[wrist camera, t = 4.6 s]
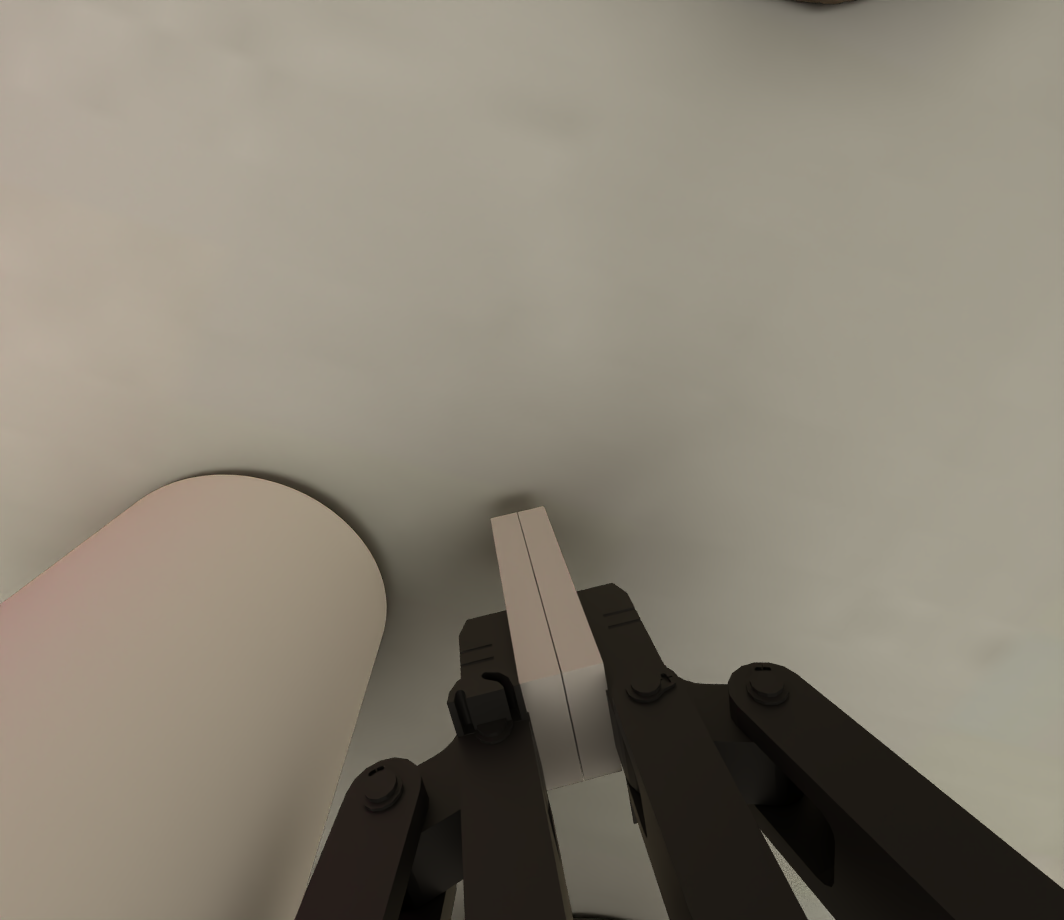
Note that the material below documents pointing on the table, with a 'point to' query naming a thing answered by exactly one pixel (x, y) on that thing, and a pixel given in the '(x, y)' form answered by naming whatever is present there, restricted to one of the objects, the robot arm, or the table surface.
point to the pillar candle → (825, 1)
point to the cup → (183, 706)
